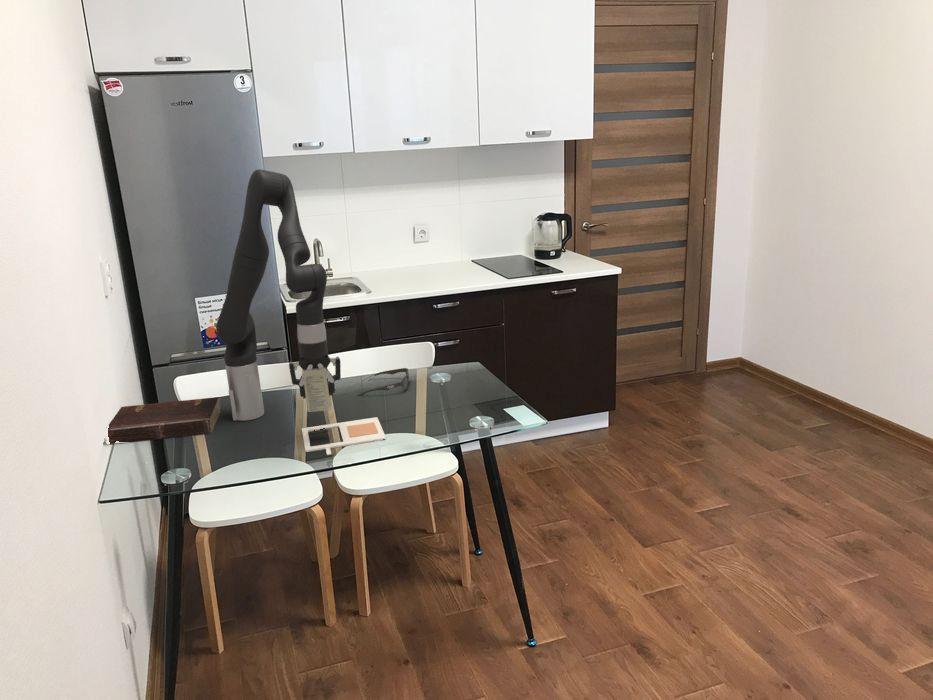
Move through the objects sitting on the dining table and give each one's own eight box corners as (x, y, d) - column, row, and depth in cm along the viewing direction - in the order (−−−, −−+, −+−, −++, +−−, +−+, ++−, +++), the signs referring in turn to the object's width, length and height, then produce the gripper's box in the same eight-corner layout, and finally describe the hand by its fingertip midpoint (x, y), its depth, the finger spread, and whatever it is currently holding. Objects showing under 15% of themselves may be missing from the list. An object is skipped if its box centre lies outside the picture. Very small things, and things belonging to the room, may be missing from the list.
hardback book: (106, 446, 212) (103, 430, 211) (124, 421, 230) (121, 406, 229) (211, 435, 217) (208, 419, 215) (221, 411, 234) (218, 396, 233)
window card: (306, 458, 197) (306, 455, 197) (302, 429, 215) (301, 427, 215) (388, 445, 202) (388, 442, 202) (377, 418, 221) (377, 416, 220)
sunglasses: (408, 395, 239) (405, 381, 237) (357, 403, 240) (353, 388, 238) (412, 378, 254) (410, 364, 253) (364, 385, 255) (361, 372, 254)
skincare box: (331, 405, 209) (327, 363, 205) (329, 411, 204) (326, 369, 201) (308, 406, 208) (304, 365, 205) (306, 412, 204) (301, 370, 200)
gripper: (285, 344, 195) (291, 404, 200) (340, 339, 198) (345, 397, 203) (284, 337, 202) (291, 394, 207) (338, 332, 205) (342, 388, 210)
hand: (318, 395), depth 205 cm, fingers closed on skincare box, 6 cm apart
